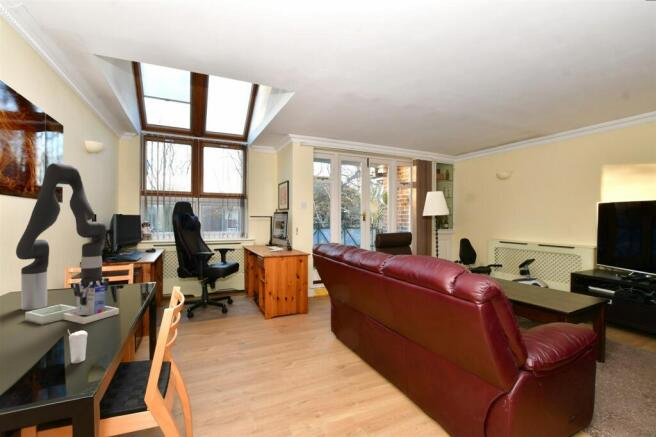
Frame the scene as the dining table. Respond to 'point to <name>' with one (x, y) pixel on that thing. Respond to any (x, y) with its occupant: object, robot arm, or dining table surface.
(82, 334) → the milkshake
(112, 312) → the white square frame
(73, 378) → the dining table surface
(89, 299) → the ink cartridge box
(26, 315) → the tray
